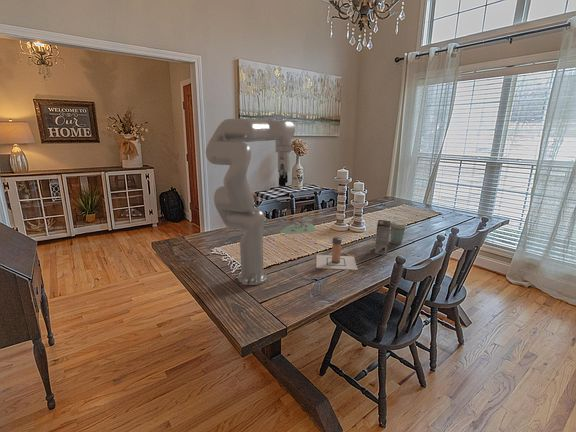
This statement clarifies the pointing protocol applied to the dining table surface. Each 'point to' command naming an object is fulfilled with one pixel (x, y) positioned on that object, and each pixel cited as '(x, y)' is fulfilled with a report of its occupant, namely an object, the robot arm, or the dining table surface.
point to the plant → (298, 228)
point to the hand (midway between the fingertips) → (283, 184)
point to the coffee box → (382, 237)
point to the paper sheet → (326, 263)
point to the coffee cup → (397, 232)
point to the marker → (336, 250)
